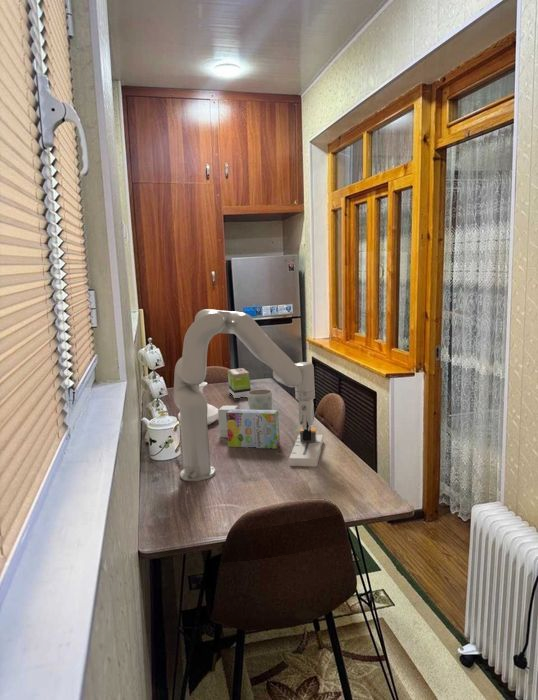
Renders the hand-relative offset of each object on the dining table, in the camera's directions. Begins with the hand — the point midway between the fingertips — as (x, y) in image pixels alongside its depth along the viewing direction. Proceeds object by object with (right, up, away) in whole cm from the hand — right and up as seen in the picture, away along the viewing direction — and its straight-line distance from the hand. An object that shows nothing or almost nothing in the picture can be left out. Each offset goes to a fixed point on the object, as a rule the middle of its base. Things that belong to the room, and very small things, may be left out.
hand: (307, 439), depth 193 cm
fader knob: (+1, -1, +4) cm, 5 cm away
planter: (-19, +3, +58) cm, 61 cm away
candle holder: (-49, 0, +47) cm, 68 cm away
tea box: (-32, +8, +96) cm, 102 cm away
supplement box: (-32, -3, +27) cm, 42 cm away
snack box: (-21, -5, +11) cm, 24 cm away
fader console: (0, -5, 0) cm, 5 cm away
